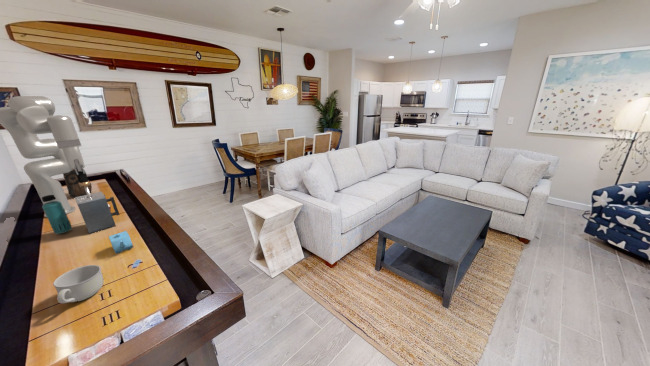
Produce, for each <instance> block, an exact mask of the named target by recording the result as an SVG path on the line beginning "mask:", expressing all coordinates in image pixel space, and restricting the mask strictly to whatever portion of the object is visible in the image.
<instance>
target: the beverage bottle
mask: <svg viewBox="0 0 650 366" xmlns="http://www.w3.org/2000/svg"><path fill="white" fill-rule="evenodd" d="M55 199H56V198H55V196H54V195H47V196H44V197H42V200H43V202H47V201H51V202H47V203H45V204H44V205H43V204H42V206H41V207H42V210H43V212H44V214H46V216H47V217H46V218H47V220H48V223H49V226H51V227H50V228H51V229H52V231H53V233H54V234H57V235H58V234H63V233H67V232H69V231H71V230H72V229H73V225H72V223H71V221H70V220H69V218H68V217H69V216H68V215H67V214H66V212H65V210H64V208H63V206H62V204H61V202H59V201H52V200H55ZM42 200H41V201H42Z"/></svg>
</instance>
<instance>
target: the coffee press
mask: <svg viewBox="0 0 650 366" xmlns="http://www.w3.org/2000/svg"><path fill="white" fill-rule="evenodd" d="M104 195H105V194H104V193H103V191H97V192H94V193H93V192H92V193H91V197H89V198H88V196H87V195H84V196H79V197H75V199H74V200H75V202H76V205H77V207H78V209H79V211H80V214H81V216H82V219H83V221H84V224H85V226H86V228H87V231H88V234H89V235H92V234H95V232H96V233H99V232H102V231H105V230H107V229H111V228H113V227H114V228H115V227H117V224H116V223H115V220H114V217H113V216H120V212H119V209H118V206H117V204H116V201H115V198H114V196H110V198H106V195H105V196H104ZM109 202H111V205H112V208H113V210H114V212H111V210H110V209H109V206H110V205H109V206H108V204H109ZM101 230H102V231H101ZM98 231H99V232H98Z"/></svg>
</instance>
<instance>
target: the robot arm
mask: <svg viewBox="0 0 650 366" xmlns="http://www.w3.org/2000/svg"><path fill="white" fill-rule="evenodd" d="M55 112H56V106H55V104H54V101H52V100H51V99H49V98H48V97H46V96H43V95H36V96H35V95H31V96H30V95H28V96H27V95H17V96H13V97H9V99H8V100H7V106H3V107H2V106H1V107H0V125H1V126H2V128H4V129H5V131H7V132H8V133H9V134H10V136H11V138H12V140H13V141H14V144H15V146H16V148H17V150H18V151H19V153H20V155H21V157H23V158H24V159H28V160H30V159H31V160H33V159H34V160H33V161H30V162H28V163H26V164H24V166H23V170H24V172H25V174H26V175H27V176H28V178H29V179H30V180H31V182H32V184H33V186H34V188H35V189H36V191H37V194H38V196H39V198H40V200H41V202H42V206H43V205H44V204H45V203H47V202H51V201H47V202H43V200H42V197H44V196H47V195H54V196H55V198H56V199H55V200H52V201H59V202H61V204H62V206H63V208H64V210H65V212H66V215H67V214H71V213H72V212H74V211H75V210H76V208H75V206H71V204H70V203H69V200H68V197H67V194H66V192H65V190H64V189H63V186H62V184H61V182H60V181H59V180H58V179H54V178H52V177H54V176H59V175H63V174H64V173H68V172H70V171H71V170H73V169H75V171H76V174H77V175H76V176H77V178H78V180H79V183H83V182H88V180H89V178H88V175H87V172H86V171H85V172H86V173H85V172H84V170H85V169H84V168H85V167H86V165H85V163H84V162H85V161H84V158H83V156H82V153H81V150H80V148H79V147H82V143H81V140H80V137H79V136H78V133H77V130H76V127H75V125H74V123H73V119H72V118H71V117H70V116H68V115H54V114H55ZM42 134H43V135H44V134H52V137H53V138H43V139H40V138H39V137H38V135H42ZM47 157H53V158H47ZM40 158H46V159H40ZM35 159H40V160H35ZM43 216H44V218H47V216H46V214H45V213H44V214H43Z"/></svg>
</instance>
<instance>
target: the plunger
mask: <svg viewBox="0 0 650 366" xmlns="http://www.w3.org/2000/svg"><path fill="white" fill-rule="evenodd" d="M89 181H90V180H89ZM89 181H88V182H83V183H79V185H80V187H84V188H85V191H86V193H87V196H88V198H89V197H91V194H92V193H91V194H90V192H89V189H88V185H90V183H91V181H90V182H89Z"/></svg>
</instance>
